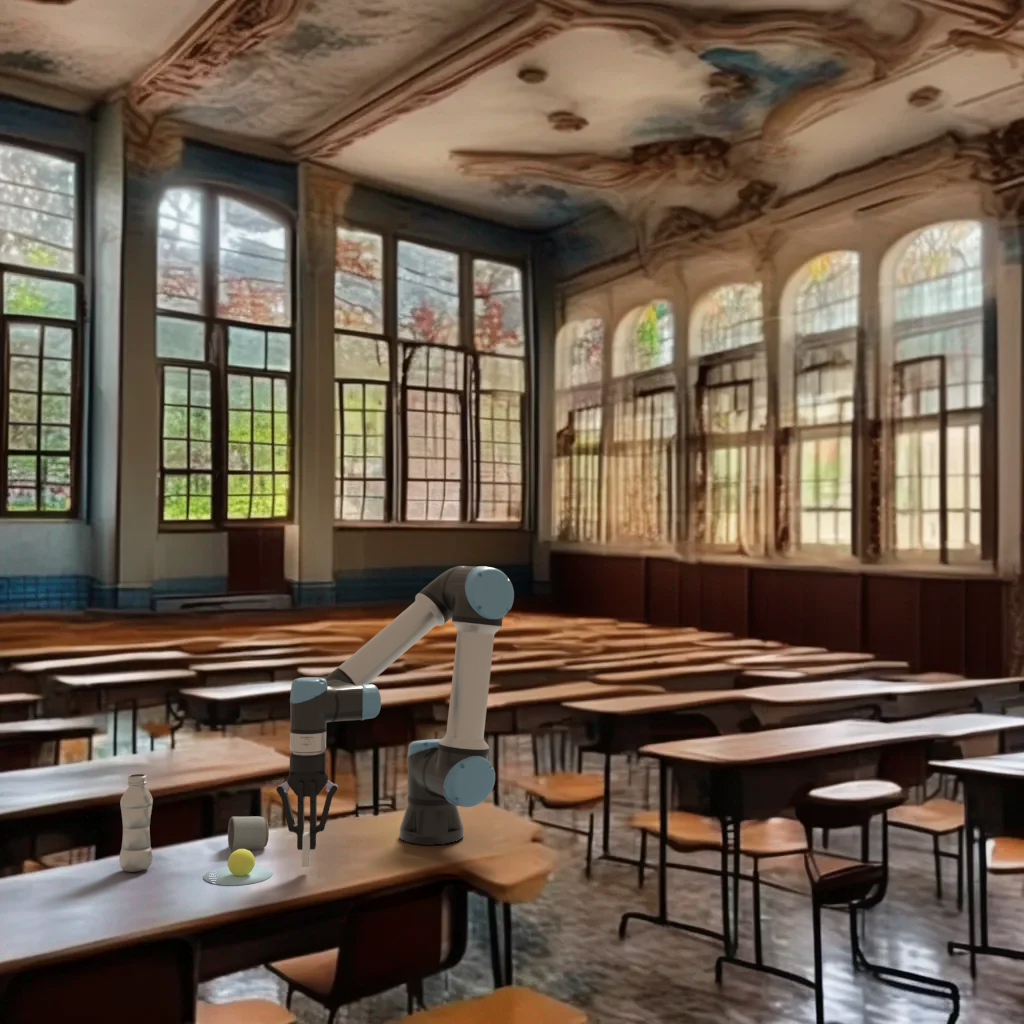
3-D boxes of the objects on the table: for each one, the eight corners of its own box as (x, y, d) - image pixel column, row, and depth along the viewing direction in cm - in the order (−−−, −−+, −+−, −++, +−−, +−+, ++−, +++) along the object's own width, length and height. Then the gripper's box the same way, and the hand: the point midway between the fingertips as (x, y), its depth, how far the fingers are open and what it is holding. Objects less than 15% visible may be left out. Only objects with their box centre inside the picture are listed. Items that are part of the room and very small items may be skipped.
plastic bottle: (158, 870, 235) (159, 775, 235) (128, 877, 230) (130, 780, 230) (142, 864, 239) (144, 771, 240) (113, 871, 234) (115, 775, 235)
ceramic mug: (269, 851, 250) (270, 817, 251) (233, 855, 247) (233, 820, 247) (259, 841, 260) (259, 808, 260) (223, 845, 256) (224, 811, 257)
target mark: (276, 865, 239) (276, 864, 239) (268, 884, 225) (268, 883, 225) (209, 866, 238) (209, 865, 238) (197, 886, 224) (197, 885, 224)
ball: (248, 876, 234) (261, 853, 235) (244, 884, 229) (257, 860, 229) (225, 864, 234) (238, 841, 234) (220, 871, 228) (234, 847, 229)
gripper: (274, 755, 229) (272, 870, 229) (338, 754, 231) (336, 869, 230) (278, 749, 237) (276, 860, 236) (340, 748, 238) (338, 859, 237)
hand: (306, 864), depth 233 cm, fingers closed
